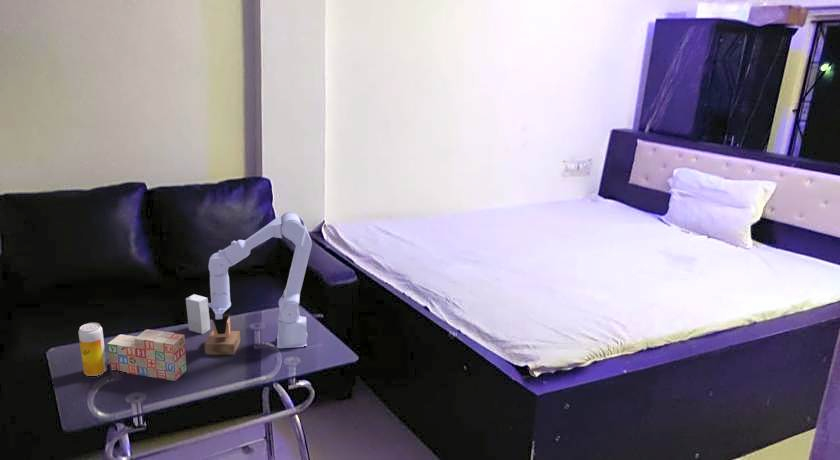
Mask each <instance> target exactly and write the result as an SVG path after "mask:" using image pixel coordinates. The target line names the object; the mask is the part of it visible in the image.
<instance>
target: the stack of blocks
mask: <svg viewBox="0 0 840 460" xmlns="http://www.w3.org/2000/svg"><path fill="white" fill-rule="evenodd" d="M185 338H186V337H185V334H181V333H176V332H171V331H162V330H154V329H144V331H142V332H141V333H140V334H139V335H137V336H135V335H128V334H127V335H126V334H118V335H116V337H114V338H113V339H112V340H110V341H109V342H107V353H108V359H109V365H110V367H109V368H110V370H111V369H116V370H120V371H123V372H127V373H126V374H130V373H131V374H130V375H136V376H142V377H150V378H155V379H161V380H166V381H167V380H168V381H173V382H176V381H177V380H179V379H180V377H181V376H182V375H183V374H185V373H186V372H187V371H188V370H187V357H186V341H185V340H186V339H185ZM123 372H122V373H123Z"/></svg>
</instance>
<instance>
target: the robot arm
mask: <svg viewBox="0 0 840 460" xmlns="http://www.w3.org/2000/svg"><path fill="white" fill-rule="evenodd" d="M308 231H309V230H308V229H307V227H306V224H305V221H304V220H303V218H302V217H301V216H300V215H299V214H298V213H296V212H294V211H286V212H284V213H283V214H282V215H279V216H278V217H277V216H276V218H274V219H273V220H272V221H270V222H269V223H268V224H266V225H265V226H264V227H262V228H260V229H259V230H258V231H257V232H254V234H252V235H250V236H249V237H248V238H247V239H245V240H243V239H238V240H237V241H236V240H232V241H231V242H230V243H231V244H230V245H228V246H227V247H225V248H224V249H219V250H218V251H217V252H215V253H213V254H212V255H210V257H209V261H208V266H207V267H208V271H209V288H210V289H209V291H210V301H211V302H208V305H207V307H208V308H211V310H212V311H213V312H211V313H210V319H211V320H212V321H213V323H214V324H215V326H216V329H217V332H218V334H225V331H226V323H227V320H228V318H229V316H230V315H231V314H230V313H229V312H230V310H231V308H232V302H231V292H230V291H231V290H230V289H231V288H230V276H229V268H231V267H233V266H235V265H236V264H237V263H239V262H241V261H242V260H244V259H246V258H248V257H249V255H250V254H251V250H253V249H254V248H256V247H257V246H259V245H262V244H263V243H264V242H266V241H267V240H270V239H271V238H277V239H278V238H279V239H283V236H284V238H286V239H287V240H289V241H291V242H292V243H293V244H294V246H295V248H294V252H293V256H292V261H291V264H290V265H291V266H290V269H289V273H288V278H287V282H286V286H285V289H284V290H283V294H282V296H281V297H280V298H279V299H278V302H277V303H278V307H279V313H278V316H277V332H278V333H277V337H276V348H277V349H289V348H290V349H292V348H305V347H304V346H306V347H307V345H308V344H307V339H308V332H307V317H306V316H301V315H300V308H299V305H300V299H301V298H300V297H301V291H302V287H303V283H304V278H305V275H306V270H307V266H308V264H309V263H308V261H309V259H310V254H311V250H312V246H313V242H312V238H311V236H310V234H309V232H308ZM214 324H213V325H214Z"/></svg>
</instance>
